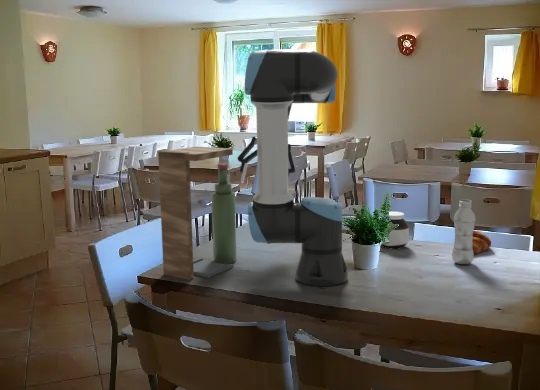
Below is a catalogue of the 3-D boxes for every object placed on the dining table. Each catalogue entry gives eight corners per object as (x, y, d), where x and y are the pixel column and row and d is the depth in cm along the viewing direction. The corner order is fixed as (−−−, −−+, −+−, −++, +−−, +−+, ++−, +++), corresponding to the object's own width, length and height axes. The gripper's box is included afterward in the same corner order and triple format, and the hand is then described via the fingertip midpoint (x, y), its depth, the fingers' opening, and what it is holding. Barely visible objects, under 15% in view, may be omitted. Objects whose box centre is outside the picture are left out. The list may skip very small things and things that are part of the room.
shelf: (200, 260, 191) (196, 145, 184) (235, 267, 184) (232, 148, 177) (163, 274, 177) (158, 151, 170) (199, 282, 170) (195, 153, 163)
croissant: (473, 250, 212) (463, 229, 213) (500, 240, 207) (490, 219, 208) (457, 264, 195) (447, 241, 195) (486, 254, 189) (476, 231, 190)
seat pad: (200, 260, 191) (200, 257, 190) (232, 267, 184) (232, 264, 183) (175, 270, 181) (174, 267, 180) (208, 277, 174) (208, 274, 173)
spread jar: (411, 247, 204) (413, 214, 202) (390, 253, 197) (391, 219, 195) (384, 240, 213) (385, 208, 211) (363, 246, 206) (364, 213, 204)
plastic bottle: (474, 261, 187) (477, 199, 183) (471, 267, 181) (475, 203, 177) (453, 259, 189) (456, 198, 186) (450, 265, 183) (453, 201, 180)
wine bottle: (240, 261, 189) (238, 164, 183) (218, 265, 186) (216, 166, 180) (231, 256, 196) (228, 162, 190) (210, 259, 192) (207, 163, 187)
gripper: (310, 138, 208) (296, 196, 204) (241, 124, 211) (227, 181, 207) (310, 132, 201) (296, 192, 197) (239, 117, 203) (224, 176, 200)
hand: (261, 186), depth 202 cm, fingers open, 13 cm apart
